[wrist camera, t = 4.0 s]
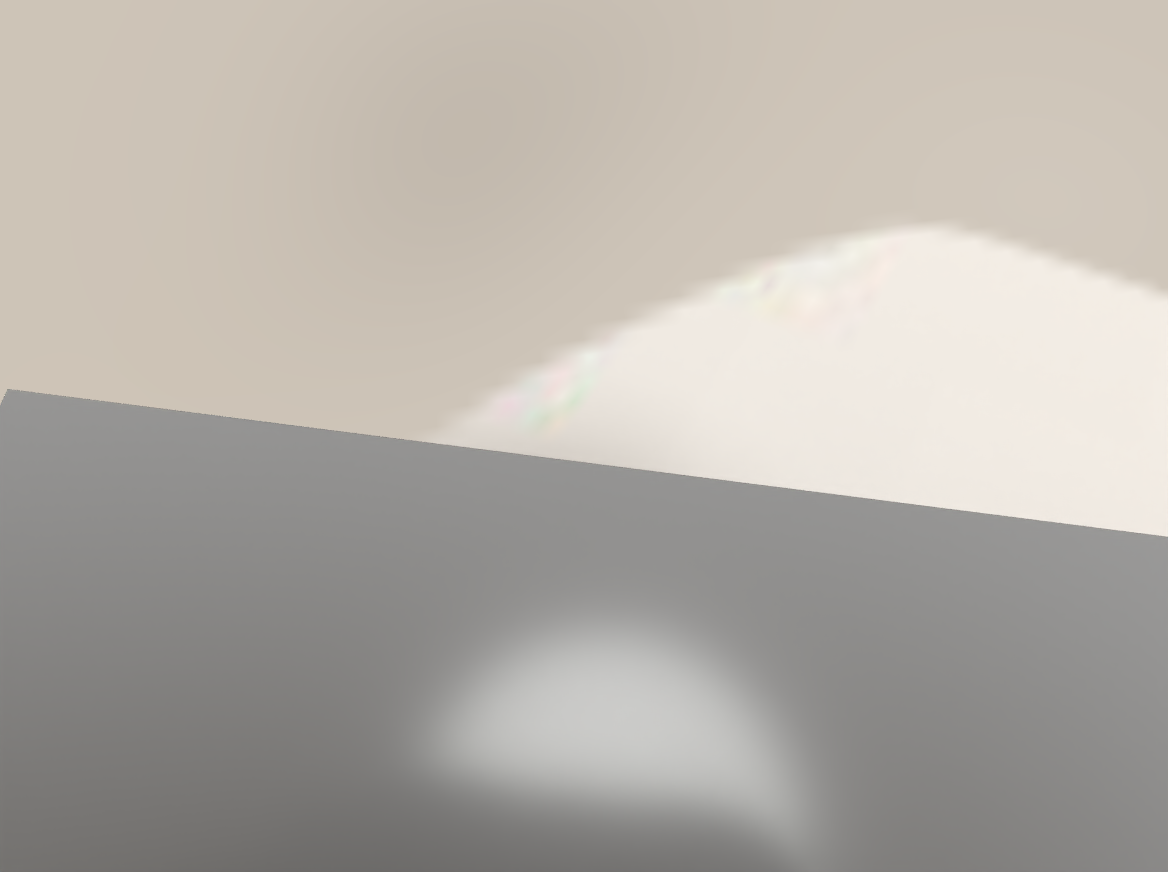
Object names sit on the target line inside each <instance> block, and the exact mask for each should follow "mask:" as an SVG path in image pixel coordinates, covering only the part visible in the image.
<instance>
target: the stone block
mask: <svg viewBox="0 0 1168 872" xmlns="http://www.w3.org/2000/svg"><path fill="white" fill-rule="evenodd" d="M0 872H1168V537H1165V536H1157V535H1149V534H1141V533H1134V532H1126V531H1118V530H1110V529H1102V528H1094V527H1086V526H1079V525H1071V524H1063V523H1055V522H1047V521H1039V520H1032V519H1024V518H1016V517H1008V516H1000V515H992V514H984V513H977V512H969V511H961V510H953V509H945V508H937V507H930V506H922V505H914V504H906V503H898V502H890V501H882V500H875V499H867V498H859V497H851V496H843V495H835V494H827V493H820V492H812V491H804V490H796V489H788V488H780V487H773V486H765V485H757V484H749V483H741V482H733V481H725V480H718V479H710V478H702V477H694V476H686V475H678V474H671V473H663V472H655V471H647V470H639V469H631V468H623V467H616V466H608V465H600V464H592V463H584V462H576V461H568V460H561V459H553V458H545V457H537V456H529V455H521V454H514V453H506V452H498V451H490V450H482V449H474V448H466V447H459V446H451V445H443V444H435V443H427V442H419V441H412V440H404V439H396V438H388V437H380V436H371V435H364V434H357V433H349V432H341V431H332V430H325V429H317V428H309V427H302V426H294V425H286V424H278V423H270V422H262V421H254V420H246V419H238V418H231V417H223V416H215V415H207V414H200V413H191V412H183V411H176V410H168V409H160V408H152V407H144V406H137V405H129V404H121V403H113V402H105V401H98V400H90V399H82V398H74V397H66V396H58V395H50V394H42V393H35V392H26V391H19V390H11V389H8V390H7V392H6V394H5V396H4V398H3V400H2V403H1V405H0Z"/></svg>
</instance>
